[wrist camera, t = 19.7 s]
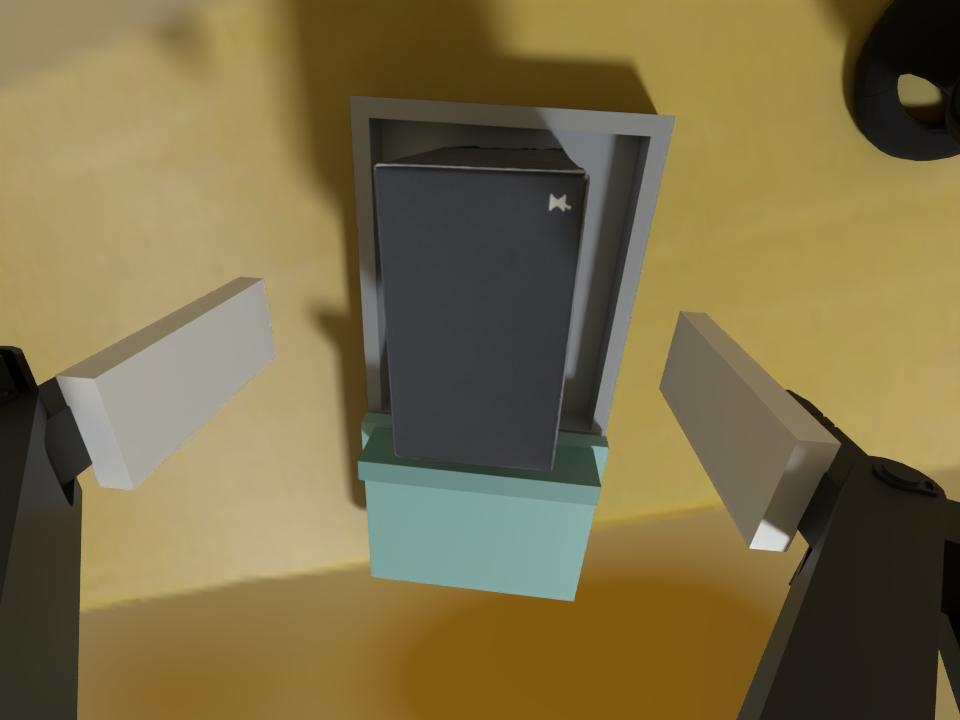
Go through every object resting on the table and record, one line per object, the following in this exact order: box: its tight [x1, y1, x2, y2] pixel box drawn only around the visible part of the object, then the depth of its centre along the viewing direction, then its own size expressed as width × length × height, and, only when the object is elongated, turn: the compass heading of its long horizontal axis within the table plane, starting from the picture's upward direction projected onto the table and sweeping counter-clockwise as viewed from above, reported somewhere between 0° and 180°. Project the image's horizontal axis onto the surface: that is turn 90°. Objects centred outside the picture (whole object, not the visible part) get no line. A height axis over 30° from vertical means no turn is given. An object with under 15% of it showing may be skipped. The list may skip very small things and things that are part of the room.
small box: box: [373, 146, 590, 471], centre depth 19 cm, size 11×6×10 cm, turn 179°
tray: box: [349, 95, 675, 436], centre depth 26 cm, size 14×27×2 cm, turn 177°
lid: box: [357, 412, 609, 601], centre depth 27 cm, size 14×13×4 cm
